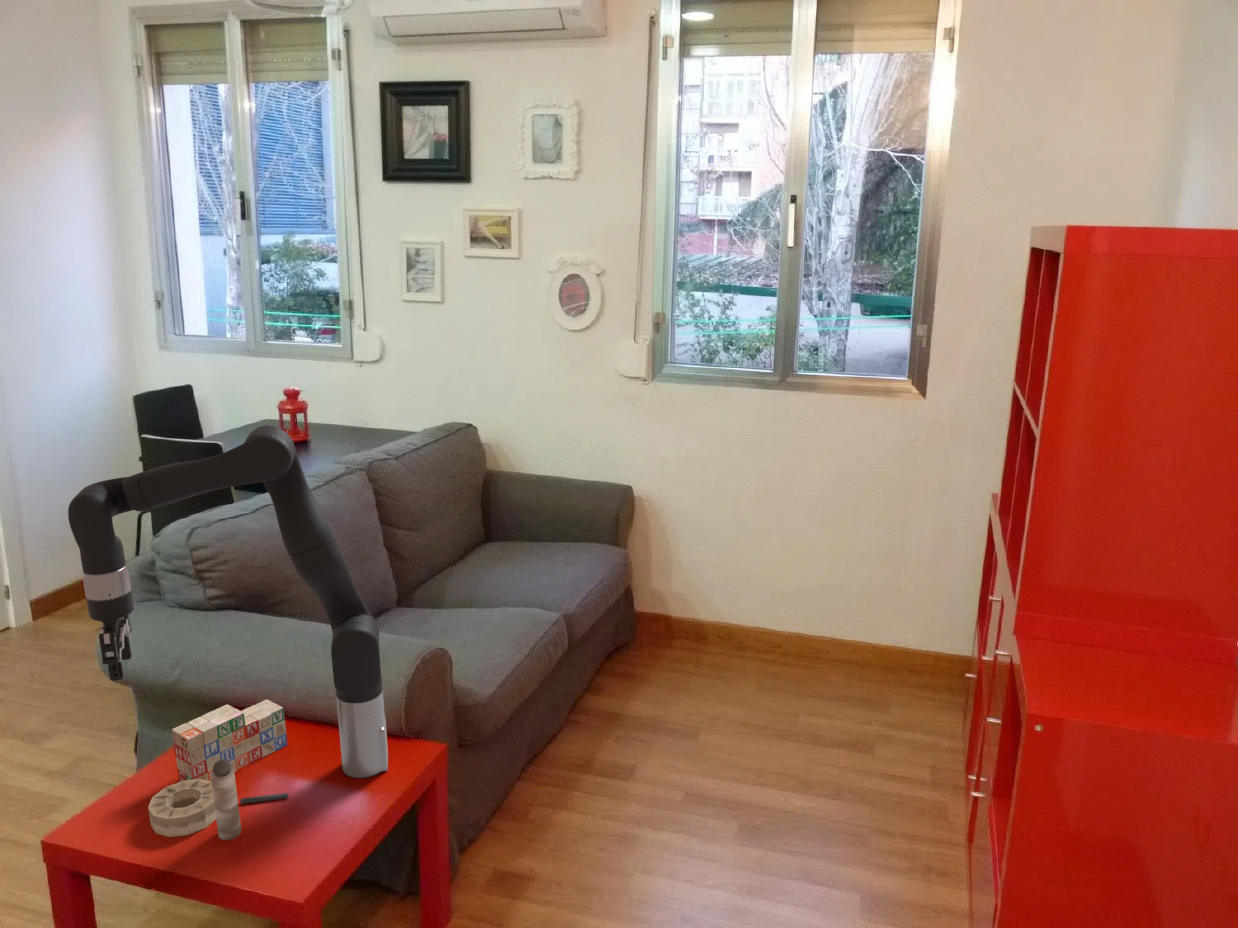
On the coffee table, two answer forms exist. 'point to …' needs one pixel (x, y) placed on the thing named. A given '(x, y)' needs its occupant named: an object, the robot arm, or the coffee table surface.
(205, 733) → the stack of blocks
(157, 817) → the bead
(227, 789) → the grey tipped beige rod
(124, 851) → the coffee table surface
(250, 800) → the dark grey rod
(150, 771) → the coffee table surface
